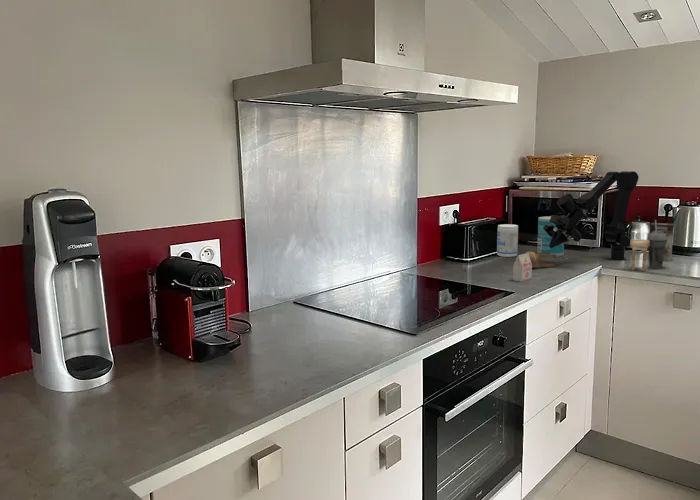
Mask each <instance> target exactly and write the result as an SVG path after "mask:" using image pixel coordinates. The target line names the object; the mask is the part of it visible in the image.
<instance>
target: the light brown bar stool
mask: <svg viewBox="0 0 700 500" xmlns="http://www.w3.org/2000/svg"><path fill="white" fill-rule="evenodd" d="M629 240H630V246H631V247H632V250H631V251H632V252H631V266H630V267H631V269H630V270H631V271H635V269H636V255H637V251H642V261H641V262H642V263H641V265H642V266H641V270H642V271H644V272H646V270H647V259H648V255H647V254H648V247H649V245H650V241H649V240H647V239H644V238H641V239H640V238H639V239H638V238H632V239H629Z"/></svg>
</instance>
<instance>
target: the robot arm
mask: <svg viewBox="0 0 700 500" xmlns="http://www.w3.org/2000/svg"><path fill="white" fill-rule="evenodd" d="M638 182H639V175H638V172H636V171H633V170H631V171H627V170H625V171H624V170H621V171H620V172H618V171H608V172H606V173H605V176H604V177H603V178H601V179H600V180H599V182H597V184H595V185H594V186H593V188H591V189H590V190H589V191H587V192H586V193H583V194H582V195H580V196H578V197H577V199H575V198H574V197H573V196H572V193H566V194H565V195H563V196H561V197H560V198H558V199H557V201H556V204H557V206H559V208H560V209H561V211H562V212H564V214H562V215H558V214H557V215H556V214H551V215H550V216H551V218H550V221H549V222H552V223H554V224H556V225H555V226H556V227H557V228H555V227H554V226H553V225H545V226H544V227H543V229H544V230H545V231H546V233H547V234H548V235H549V236H550V237H552V239H551V242H550V245H549V247H550V248H553V247H555V246H557V245H560V244H562V243H564V244H565V243H567V242H569V241H570V240H569V239H570V238H572V237H573V242H575V243H579V242H580V241H581V240H582V234H581V233H580V232H579V231H578V230H577V229H578V224H579V223H580V222H581V221H582V220H588V218H589V217H588V212H587V213H586V212H584V211H589V212H592V211H594V209H595V208H596V206H597V205H598V202H599V199H600V198H601V197H602V195H604V194H605V193H606V192H607V191H608V189H610V188H611V187H612V186H613V185H614V184H615V183H616V186H617V190H618V193H617V197H616V203H615V207H614V211H613V216H612V220H611V223H610V224H606V226H605V229H604V230H605V231H604V232H603V234H604V238H605V240H606V244H607V245H610V255H609V260H621V261H622V260H623V261H625V260H626V259H627V258H626V255H625V254H626V253H625V252H626V248H627V247H629V246H631V245H630V240H631V239H629V237H627V228H626V225H625V220H626V216H627V211H628V207H629V204H630V203H629V202H630V198H631V194H632V193H631V192H633V190H634V189H635V188H636V187H637V184H638ZM566 214H567V215H566Z"/></svg>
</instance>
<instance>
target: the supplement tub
mask: <svg viewBox="0 0 700 500" xmlns="http://www.w3.org/2000/svg"><path fill="white" fill-rule="evenodd" d="M496 234H497V236H496V255H498V256H499V257H503V258H512V257H513V258H514V257H517V255H518V248H519V246H518V244H519V225H517V224H511V223H510V224H509V223H508V224H507V223H505V224H498V225H497V233H496Z"/></svg>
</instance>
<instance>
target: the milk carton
mask: <svg viewBox="0 0 700 500" xmlns="http://www.w3.org/2000/svg"><path fill="white" fill-rule="evenodd" d="M525 253H526V252H525ZM525 253H523V254H519V255H518V254H517V256H516V258H515V261H514V263H513V265H512V267H513V268H512V269H513V270H512V271H513V272H512V280H513V281H515V282H522V283H523V282H524V281H529V280H532V279H533V277H532V276H533V275H532V273H533V272H532V270H533V268H532V263H531V260H530V257H529V253H526V254H525Z"/></svg>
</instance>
